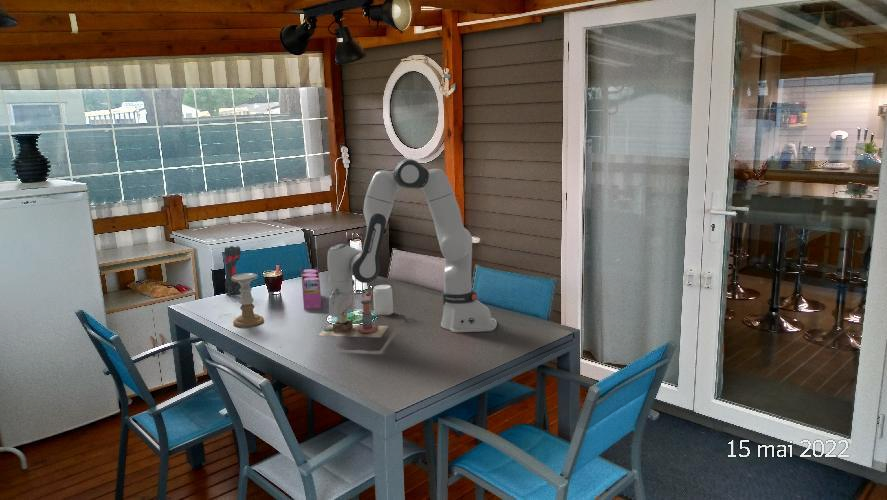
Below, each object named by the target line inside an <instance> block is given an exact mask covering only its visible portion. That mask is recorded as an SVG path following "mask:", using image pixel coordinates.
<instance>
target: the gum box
mask: <svg viewBox="0 0 887 500" xmlns="http://www.w3.org/2000/svg"><path fill="white" fill-rule="evenodd" d="M319 272H320V271H319V268H318V267H314V269H313V268H310V269H309V268H308V269H305V268H302V269H301V284H302V286H301V287H302V288H301V289H302V300H303V302H302V303H303V310H304V311H305V310H317V309H322V294H321V283H320V282H321V281H320V280H321V279H320V273H319Z"/></svg>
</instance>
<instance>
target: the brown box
mask: <svg viewBox="0 0 887 500" xmlns="http://www.w3.org/2000/svg"><path fill="white" fill-rule="evenodd" d="M332 325H333V332H340V333H348V332H349V331H350V330H351V329H352V328H353V325H354V323H353V320H351V319H350V320H348V319H347V325H341V324H339V322H338V319H337V320H336V321H335V322H334V323H333V324H332Z"/></svg>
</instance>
